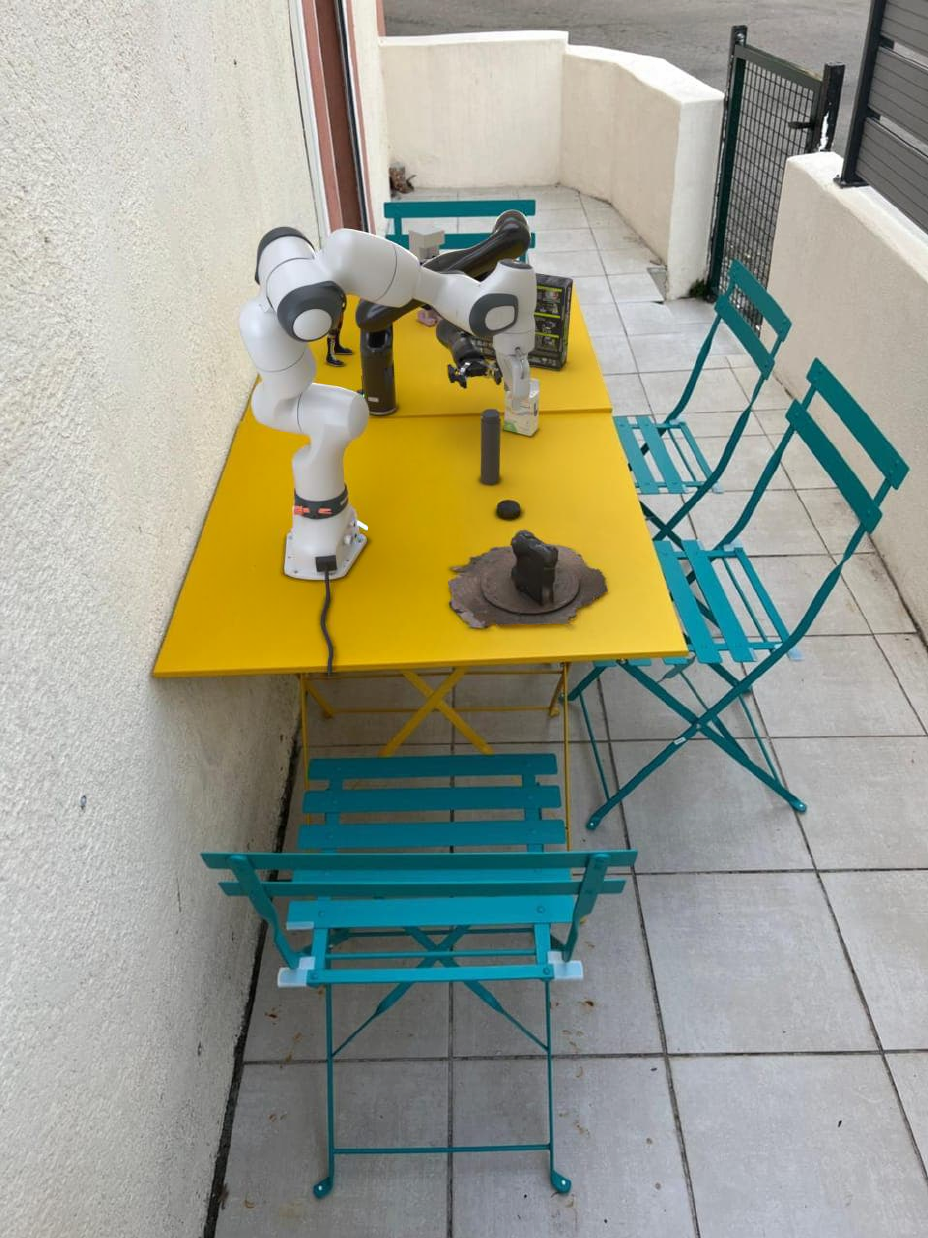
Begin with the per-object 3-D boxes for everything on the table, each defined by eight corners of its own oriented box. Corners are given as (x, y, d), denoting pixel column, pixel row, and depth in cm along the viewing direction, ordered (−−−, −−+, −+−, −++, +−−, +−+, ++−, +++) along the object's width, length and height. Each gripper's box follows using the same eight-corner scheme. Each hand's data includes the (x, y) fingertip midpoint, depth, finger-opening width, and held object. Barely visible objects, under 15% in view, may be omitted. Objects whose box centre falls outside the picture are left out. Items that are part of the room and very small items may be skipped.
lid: (518, 520, 213) (519, 513, 212) (495, 518, 214) (495, 511, 212) (521, 507, 217) (521, 500, 216) (498, 505, 218) (498, 498, 217)
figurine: (337, 375, 275) (327, 277, 255) (318, 373, 276) (306, 275, 256) (359, 343, 293) (351, 250, 273) (341, 342, 294) (332, 248, 274)
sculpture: (594, 649, 177) (601, 586, 167) (427, 621, 184) (424, 559, 174) (615, 555, 202) (623, 495, 191) (467, 533, 209) (467, 474, 198)
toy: (460, 304, 319) (459, 216, 299) (477, 312, 313) (477, 222, 294) (381, 329, 302) (375, 237, 283) (398, 337, 296) (393, 244, 277)
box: (567, 361, 281) (574, 276, 264) (561, 371, 276) (566, 284, 258) (470, 346, 291) (469, 262, 273) (461, 355, 285) (460, 270, 268)
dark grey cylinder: (479, 475, 229) (480, 408, 217) (498, 474, 229) (500, 407, 217) (481, 485, 225) (481, 417, 213) (500, 484, 225) (501, 417, 213)
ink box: (503, 429, 247) (504, 380, 238) (510, 422, 250) (512, 373, 241) (531, 436, 244) (533, 386, 234) (538, 429, 247) (541, 379, 238)
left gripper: (538, 358, 180) (535, 420, 189) (518, 319, 195) (516, 378, 204) (508, 360, 179) (506, 422, 188) (490, 321, 194) (490, 380, 203)
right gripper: (440, 345, 229) (454, 372, 217) (494, 340, 232) (510, 365, 220) (441, 373, 234) (454, 400, 222) (493, 367, 236) (509, 393, 224)
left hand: (511, 399), depth 196 cm, fingers open, 8 cm apart
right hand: (482, 383), depth 221 cm, fingers open, 8 cm apart
